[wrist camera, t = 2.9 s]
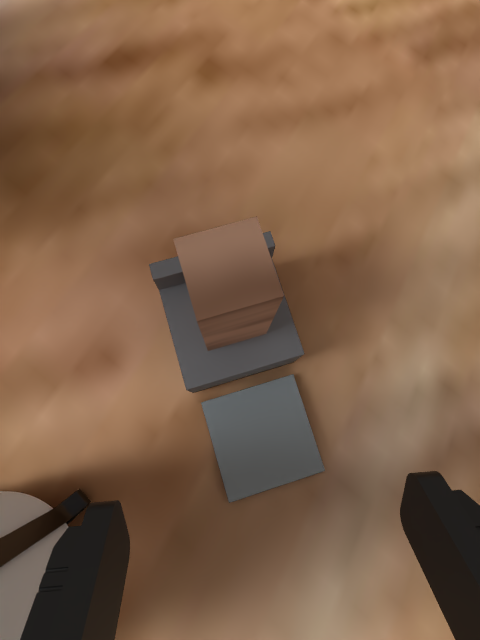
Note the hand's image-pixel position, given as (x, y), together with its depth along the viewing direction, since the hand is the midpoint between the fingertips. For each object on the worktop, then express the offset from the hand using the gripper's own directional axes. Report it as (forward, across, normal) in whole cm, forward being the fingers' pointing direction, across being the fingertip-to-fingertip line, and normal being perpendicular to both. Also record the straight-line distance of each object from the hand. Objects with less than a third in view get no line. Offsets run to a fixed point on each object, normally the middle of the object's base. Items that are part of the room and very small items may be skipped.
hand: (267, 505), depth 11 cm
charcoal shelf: (+23, 0, -7) cm, 24 cm away
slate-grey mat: (+17, +2, -14) cm, 22 cm away
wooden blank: (+19, 0, -3) cm, 20 cm away
